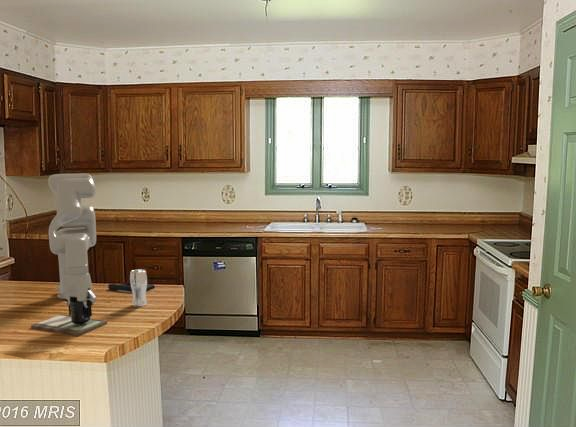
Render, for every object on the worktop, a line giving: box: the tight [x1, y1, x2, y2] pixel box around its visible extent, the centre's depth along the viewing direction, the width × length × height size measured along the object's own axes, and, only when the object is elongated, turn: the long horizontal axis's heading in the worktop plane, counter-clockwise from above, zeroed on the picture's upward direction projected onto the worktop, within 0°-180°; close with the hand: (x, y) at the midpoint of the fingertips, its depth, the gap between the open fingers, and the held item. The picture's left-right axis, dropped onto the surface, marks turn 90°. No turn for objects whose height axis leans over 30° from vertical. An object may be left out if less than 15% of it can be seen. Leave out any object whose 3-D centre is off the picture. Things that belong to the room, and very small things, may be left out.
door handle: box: [107, 282, 155, 294], centre depth 238 cm, size 3×20×16 cm
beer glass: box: [129, 268, 148, 308], centre depth 211 cm, size 7×7×15 cm
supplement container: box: [70, 296, 91, 324], centre depth 183 cm, size 7×7×10 cm
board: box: [30, 313, 108, 337], centre depth 186 cm, size 24×14×1 cm, turn 67°
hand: (80, 315), depth 184 cm, fingers closed on supplement container, 6 cm apart
